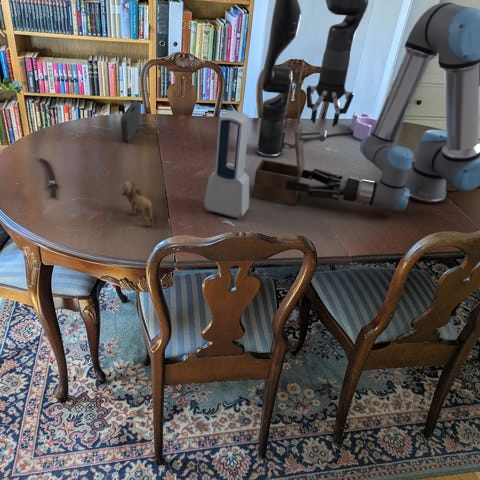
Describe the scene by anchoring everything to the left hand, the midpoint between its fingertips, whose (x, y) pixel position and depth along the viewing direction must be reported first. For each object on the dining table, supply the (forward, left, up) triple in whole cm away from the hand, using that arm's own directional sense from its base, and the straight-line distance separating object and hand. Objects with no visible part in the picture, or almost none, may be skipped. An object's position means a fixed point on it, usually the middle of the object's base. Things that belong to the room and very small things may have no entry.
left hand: (323, 123), depth 140 cm
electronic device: (+29, -6, -26) cm, 40 cm away
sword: (+70, -49, -26) cm, 90 cm away
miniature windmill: (-41, -61, -26) cm, 78 cm away
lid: (+4, -5, -9) cm, 11 cm away
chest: (+7, -8, -26) cm, 29 cm away
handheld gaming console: (+30, -77, -26) cm, 86 cm away
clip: (-69, -40, -26) cm, 84 cm away
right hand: (+5, -6, -19) cm, 21 cm away
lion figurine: (+54, -14, -26) cm, 62 cm away
